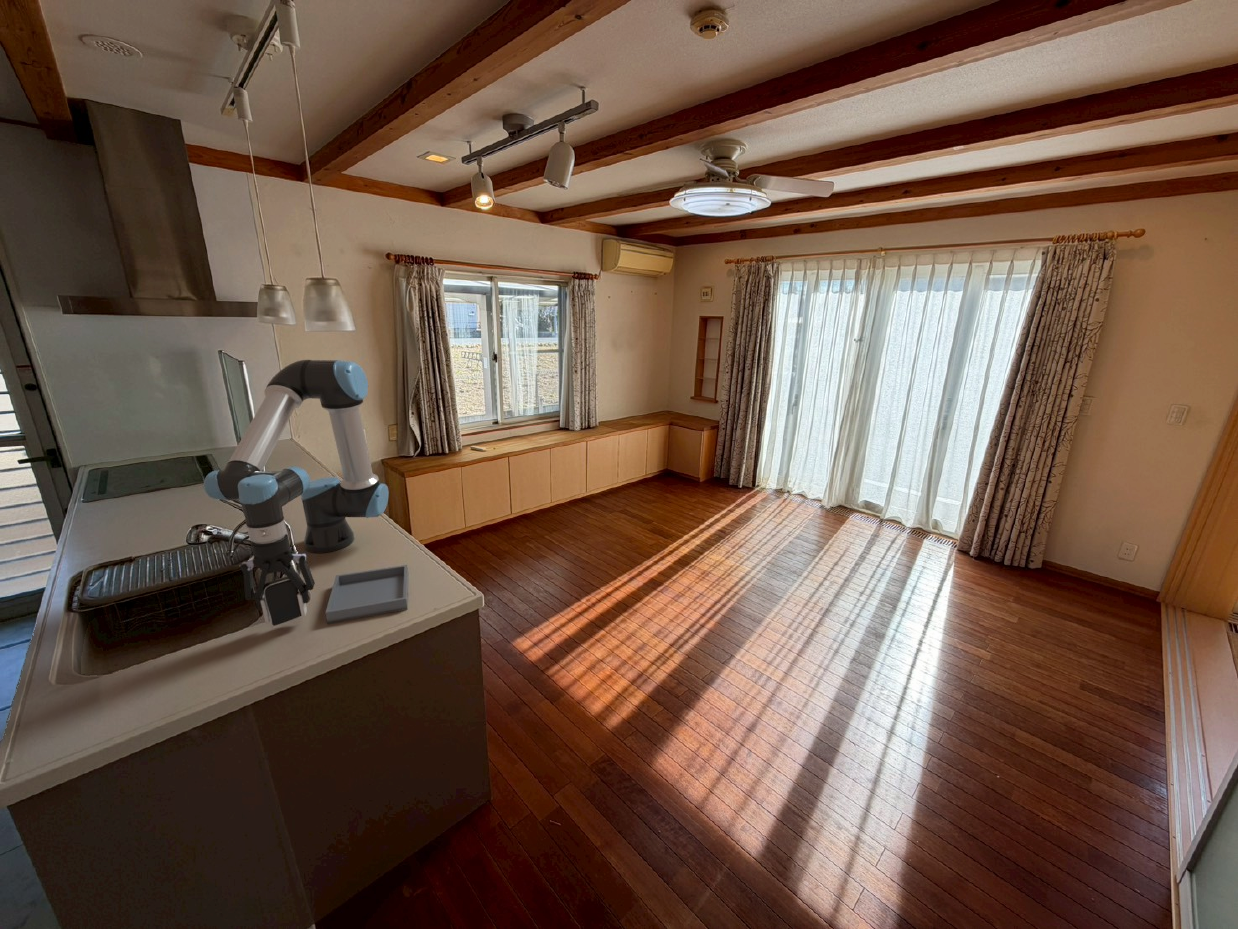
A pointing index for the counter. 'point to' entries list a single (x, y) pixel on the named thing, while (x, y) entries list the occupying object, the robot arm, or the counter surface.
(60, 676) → the counter surface
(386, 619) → the counter surface
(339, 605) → the tray
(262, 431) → the robot arm
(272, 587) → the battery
